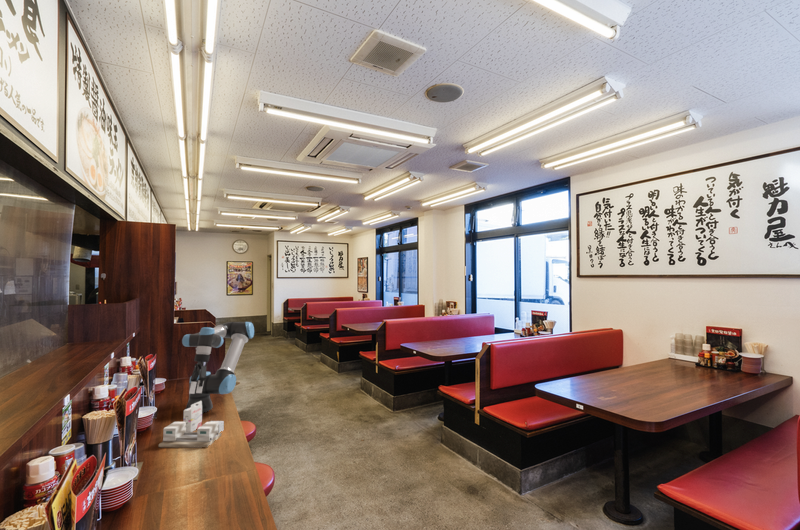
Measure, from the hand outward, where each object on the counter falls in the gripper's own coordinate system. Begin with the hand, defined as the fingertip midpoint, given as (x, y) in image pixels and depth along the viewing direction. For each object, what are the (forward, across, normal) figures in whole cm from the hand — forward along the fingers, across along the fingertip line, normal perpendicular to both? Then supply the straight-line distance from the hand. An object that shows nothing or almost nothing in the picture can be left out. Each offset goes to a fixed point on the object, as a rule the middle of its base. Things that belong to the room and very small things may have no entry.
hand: (195, 393), depth 203 cm
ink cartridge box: (+19, -4, +3) cm, 19 cm away
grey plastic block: (+20, +8, +12) cm, 24 cm away
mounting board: (+23, +12, -1) cm, 26 cm away
